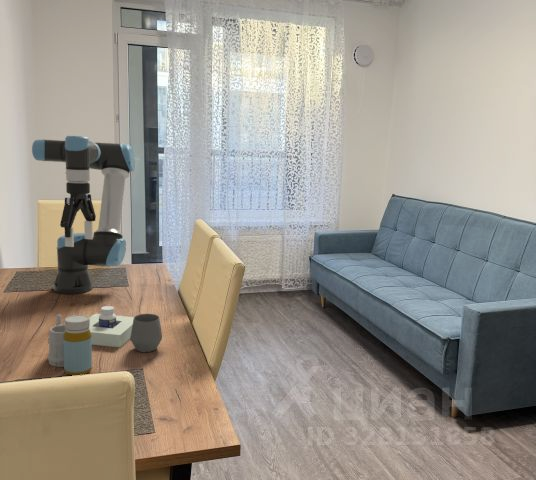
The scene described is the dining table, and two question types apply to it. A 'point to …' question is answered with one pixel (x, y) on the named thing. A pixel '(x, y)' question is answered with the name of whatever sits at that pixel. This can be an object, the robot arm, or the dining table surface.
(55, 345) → the mug
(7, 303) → the dining table surface
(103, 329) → the socket block
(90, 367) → the bottle
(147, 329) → the cup
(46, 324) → the dining table surface
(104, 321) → the pill bottle
